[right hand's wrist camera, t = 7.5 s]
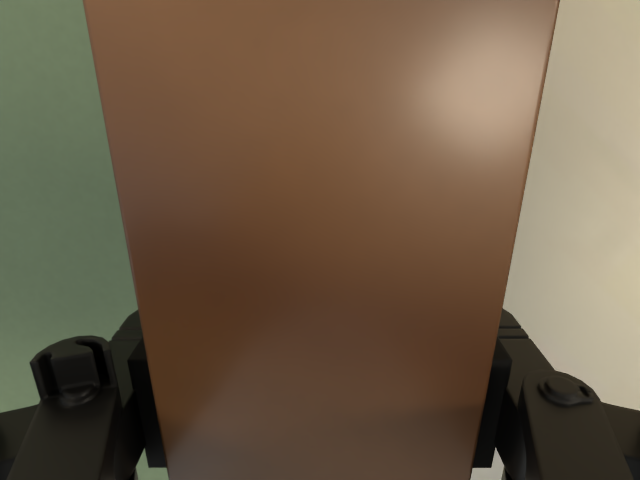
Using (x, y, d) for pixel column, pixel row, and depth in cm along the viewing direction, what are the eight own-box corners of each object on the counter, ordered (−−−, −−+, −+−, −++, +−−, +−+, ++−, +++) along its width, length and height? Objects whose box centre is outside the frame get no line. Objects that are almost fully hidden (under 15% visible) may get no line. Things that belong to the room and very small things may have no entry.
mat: (122, -188, 16) (118, -194, 16) (213, 493, 30) (212, 498, 29) (-258, -189, 16) (-271, -195, 16) (8, 495, 30) (4, 500, 29)
